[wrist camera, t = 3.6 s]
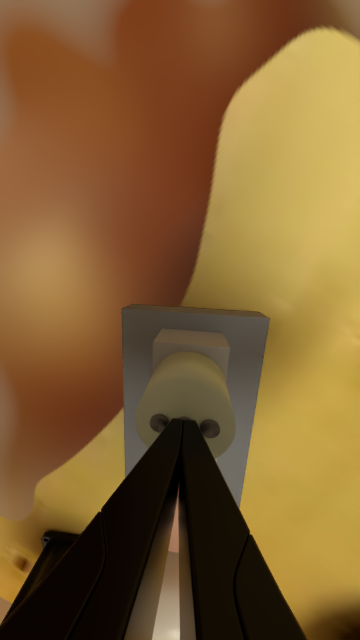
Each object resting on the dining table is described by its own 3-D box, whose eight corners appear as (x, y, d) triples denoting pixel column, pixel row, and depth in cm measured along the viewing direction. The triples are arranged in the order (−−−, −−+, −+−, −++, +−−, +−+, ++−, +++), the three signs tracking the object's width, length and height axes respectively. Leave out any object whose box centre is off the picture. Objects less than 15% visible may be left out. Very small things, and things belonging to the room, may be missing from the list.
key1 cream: (154, 529, 14) (130, 668, 9) (154, 491, 13) (128, 621, 8) (203, 537, 13) (207, 684, 9) (208, 499, 13) (214, 638, 8)
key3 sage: (160, 387, 12) (134, 461, 7) (161, 333, 11) (133, 376, 6) (217, 392, 12) (230, 474, 7) (223, 337, 11) (242, 386, 6)
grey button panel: (134, 484, 18) (113, 552, 13) (132, 304, 14) (101, 316, 9) (231, 498, 17) (243, 574, 13) (259, 312, 13) (289, 329, 9)
